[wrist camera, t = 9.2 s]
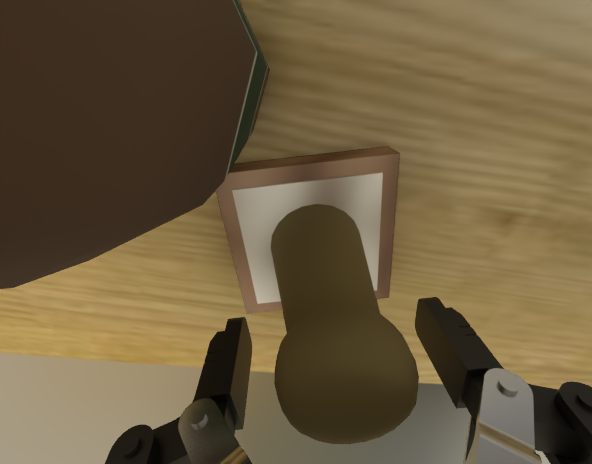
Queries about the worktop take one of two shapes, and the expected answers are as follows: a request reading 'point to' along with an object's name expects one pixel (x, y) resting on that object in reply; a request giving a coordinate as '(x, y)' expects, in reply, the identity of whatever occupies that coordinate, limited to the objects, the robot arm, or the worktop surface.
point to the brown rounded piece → (336, 334)
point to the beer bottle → (115, 121)
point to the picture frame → (302, 192)
